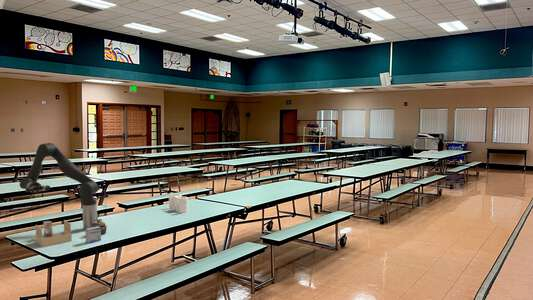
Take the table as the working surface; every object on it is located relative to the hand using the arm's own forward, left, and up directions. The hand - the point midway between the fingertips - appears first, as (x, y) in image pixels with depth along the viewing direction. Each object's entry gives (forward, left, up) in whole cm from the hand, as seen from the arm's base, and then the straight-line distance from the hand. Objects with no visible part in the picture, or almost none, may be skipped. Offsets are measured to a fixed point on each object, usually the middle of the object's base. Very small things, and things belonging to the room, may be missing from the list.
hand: (40, 189), depth 265 cm
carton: (0, +19, -30) cm, 36 cm away
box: (0, +12, -30) cm, 32 cm away
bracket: (-104, +3, -30) cm, 108 cm away
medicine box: (-18, +42, -30) cm, 55 cm away
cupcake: (-27, +28, -30) cm, 49 cm away
